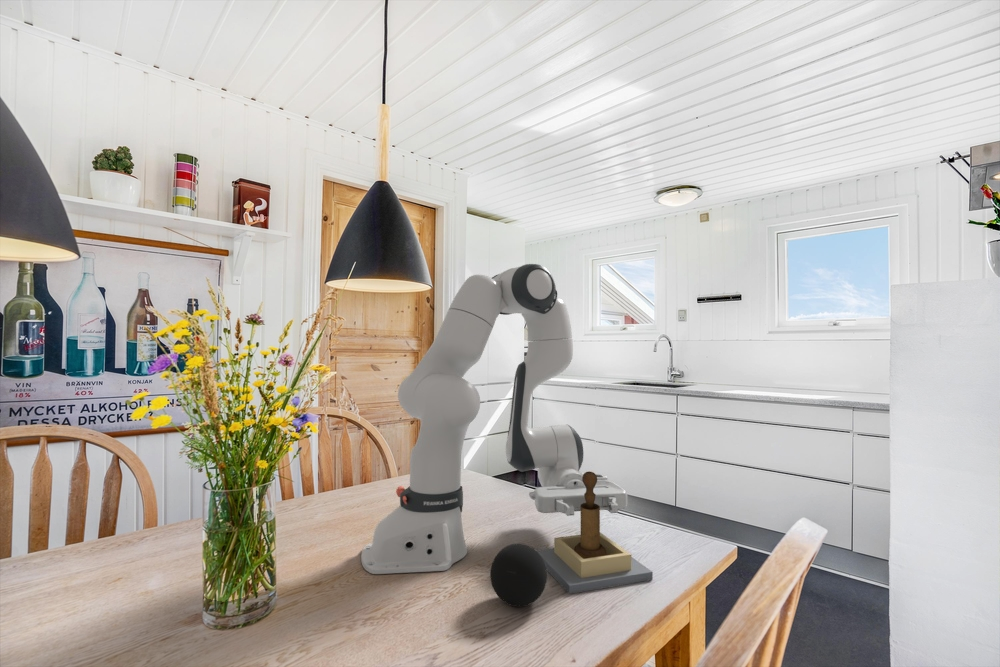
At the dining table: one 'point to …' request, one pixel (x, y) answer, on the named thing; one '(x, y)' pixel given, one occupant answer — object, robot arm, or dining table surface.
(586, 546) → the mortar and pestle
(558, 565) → the holder
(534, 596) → the speaker
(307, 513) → the dining table surface
